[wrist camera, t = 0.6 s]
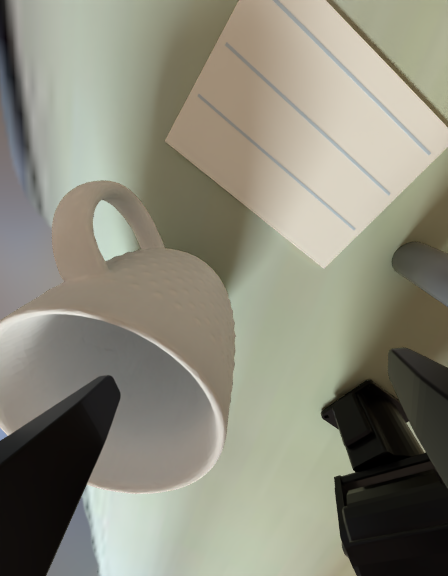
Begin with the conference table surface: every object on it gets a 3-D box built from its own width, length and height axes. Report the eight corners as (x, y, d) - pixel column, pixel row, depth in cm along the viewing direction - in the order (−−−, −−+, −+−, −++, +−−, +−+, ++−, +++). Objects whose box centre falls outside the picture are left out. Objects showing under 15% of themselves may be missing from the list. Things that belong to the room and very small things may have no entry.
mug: (81, 196, 20) (-174, 228, 8) (214, 160, 18) (133, 131, 6) (146, 347, 26) (52, 496, 14) (253, 333, 23) (250, 497, 12)
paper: (454, 138, 16) (457, 137, 15) (322, 267, 20) (323, 268, 20) (269, -54, 13) (269, -59, 13) (165, 141, 18) (164, 140, 17)
